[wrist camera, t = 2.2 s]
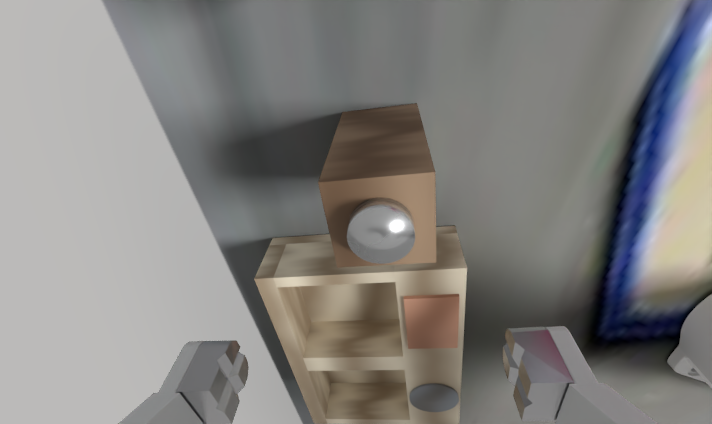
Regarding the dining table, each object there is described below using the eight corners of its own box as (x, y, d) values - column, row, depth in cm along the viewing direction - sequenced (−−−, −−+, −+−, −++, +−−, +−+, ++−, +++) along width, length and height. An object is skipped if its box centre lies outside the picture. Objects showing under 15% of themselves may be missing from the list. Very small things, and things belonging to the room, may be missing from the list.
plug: (416, 103, 22) (438, 183, 13) (419, 171, 25) (438, 276, 16) (342, 112, 23) (314, 194, 14) (353, 177, 26) (335, 281, 17)
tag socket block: (454, 225, 27) (468, 271, 23) (451, 378, 39) (459, 428, 35) (272, 237, 30) (252, 281, 25) (321, 379, 41) (313, 426, 37)
